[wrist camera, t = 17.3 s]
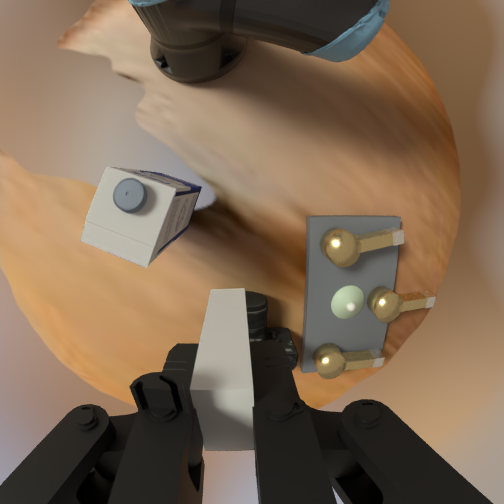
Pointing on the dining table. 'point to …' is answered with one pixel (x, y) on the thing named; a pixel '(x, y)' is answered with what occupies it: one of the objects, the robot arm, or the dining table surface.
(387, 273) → the level plate
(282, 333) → the camera
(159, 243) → the milk carton
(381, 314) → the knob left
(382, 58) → the dining table surface
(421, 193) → the dining table surface
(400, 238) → the knob
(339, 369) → the knob
